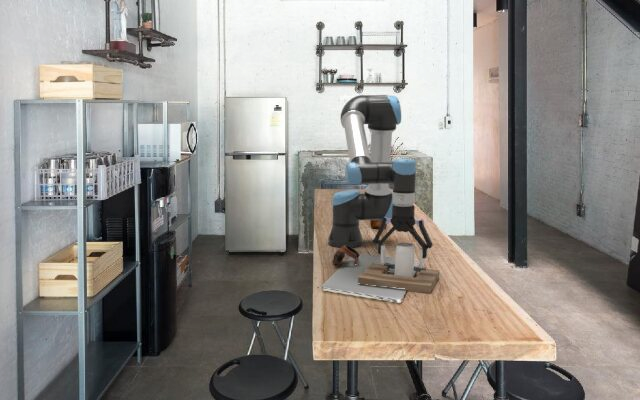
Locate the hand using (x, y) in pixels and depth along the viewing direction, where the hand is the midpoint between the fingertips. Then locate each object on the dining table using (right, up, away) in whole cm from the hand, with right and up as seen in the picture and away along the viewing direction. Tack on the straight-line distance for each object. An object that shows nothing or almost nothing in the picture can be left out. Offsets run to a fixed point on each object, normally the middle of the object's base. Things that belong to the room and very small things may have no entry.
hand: (401, 265), depth 182 cm
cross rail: (+2, -4, +6) cm, 7 cm away
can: (+1, -5, 0) cm, 5 cm away
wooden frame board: (-1, -5, -2) cm, 6 cm away
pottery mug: (-19, -2, +18) cm, 26 cm away
